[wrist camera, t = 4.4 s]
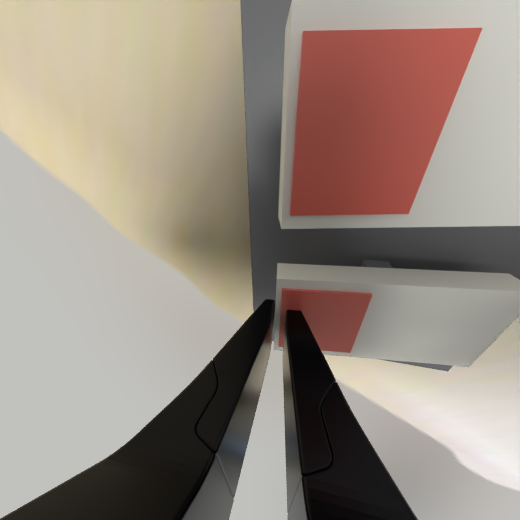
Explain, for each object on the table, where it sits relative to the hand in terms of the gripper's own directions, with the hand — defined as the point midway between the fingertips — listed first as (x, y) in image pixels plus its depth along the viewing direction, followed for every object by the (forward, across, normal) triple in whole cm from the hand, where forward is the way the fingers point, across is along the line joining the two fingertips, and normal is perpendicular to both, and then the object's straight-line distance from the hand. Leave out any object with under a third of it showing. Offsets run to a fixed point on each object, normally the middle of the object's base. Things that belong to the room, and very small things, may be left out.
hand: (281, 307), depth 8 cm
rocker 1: (0, -4, -6) cm, 7 cm away
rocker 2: (0, -4, 0) cm, 4 cm away
